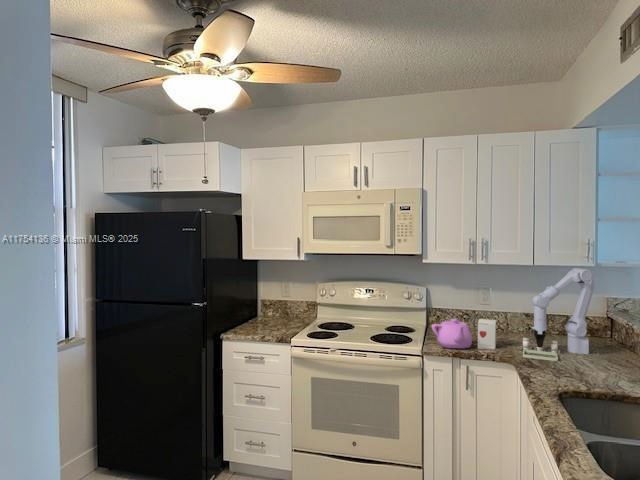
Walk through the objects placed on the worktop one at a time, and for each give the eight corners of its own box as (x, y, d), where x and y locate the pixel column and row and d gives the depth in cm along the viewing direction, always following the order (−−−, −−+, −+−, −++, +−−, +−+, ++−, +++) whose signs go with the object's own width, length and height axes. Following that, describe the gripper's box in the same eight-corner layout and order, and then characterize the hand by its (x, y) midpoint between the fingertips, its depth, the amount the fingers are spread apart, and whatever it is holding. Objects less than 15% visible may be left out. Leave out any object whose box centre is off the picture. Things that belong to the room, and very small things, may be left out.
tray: (556, 357, 215) (556, 352, 215) (557, 363, 205) (557, 358, 205) (523, 353, 222) (523, 349, 222) (522, 358, 212) (522, 354, 212)
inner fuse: (557, 352, 220) (557, 340, 220) (557, 353, 218) (557, 342, 218) (550, 351, 222) (550, 340, 222) (550, 353, 219) (550, 341, 219)
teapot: (427, 342, 244) (427, 316, 244) (464, 342, 244) (465, 316, 244) (438, 353, 221) (438, 324, 221) (479, 353, 221) (479, 324, 221)
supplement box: (477, 349, 230) (477, 321, 230) (478, 345, 238) (478, 318, 238) (495, 351, 226) (495, 322, 226) (496, 347, 235) (496, 319, 234)
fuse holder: (560, 354, 221) (560, 349, 221) (561, 357, 216) (561, 352, 216) (519, 349, 230) (519, 344, 230) (519, 352, 224) (519, 347, 224)
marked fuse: (543, 350, 223) (543, 339, 223) (543, 352, 221) (543, 340, 221) (536, 350, 225) (536, 338, 225) (536, 351, 222) (536, 339, 222)
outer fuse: (529, 349, 226) (529, 337, 226) (529, 350, 224) (529, 339, 224) (522, 348, 228) (522, 337, 228) (522, 350, 225) (522, 338, 225)
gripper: (531, 316, 231) (531, 341, 231) (531, 321, 218) (530, 347, 218) (546, 317, 228) (546, 343, 228) (547, 322, 215) (546, 349, 215)
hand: (539, 345), depth 223 cm, fingers open, 7 cm apart
